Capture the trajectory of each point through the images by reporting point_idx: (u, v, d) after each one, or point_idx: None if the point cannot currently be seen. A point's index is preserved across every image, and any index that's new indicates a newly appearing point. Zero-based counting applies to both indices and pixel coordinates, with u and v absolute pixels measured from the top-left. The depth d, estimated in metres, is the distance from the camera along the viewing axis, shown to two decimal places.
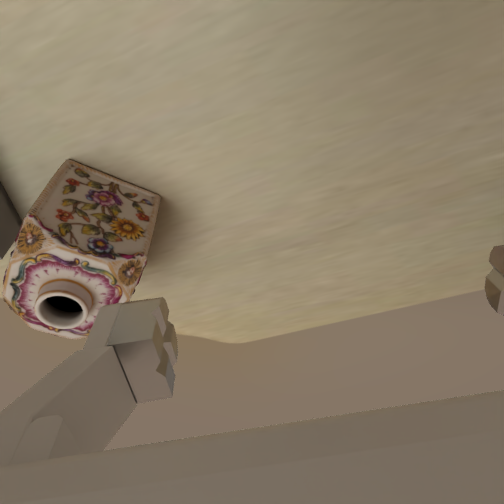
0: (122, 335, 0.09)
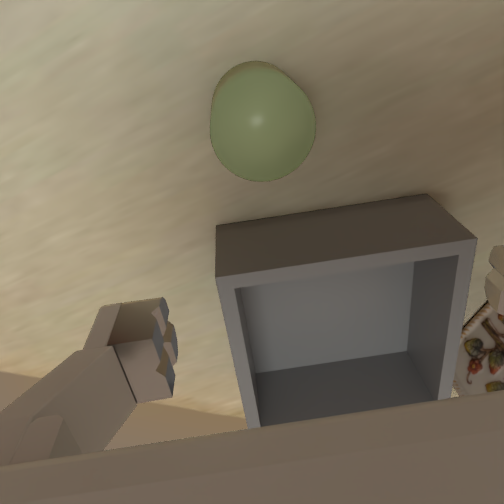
0: (122, 335, 0.09)
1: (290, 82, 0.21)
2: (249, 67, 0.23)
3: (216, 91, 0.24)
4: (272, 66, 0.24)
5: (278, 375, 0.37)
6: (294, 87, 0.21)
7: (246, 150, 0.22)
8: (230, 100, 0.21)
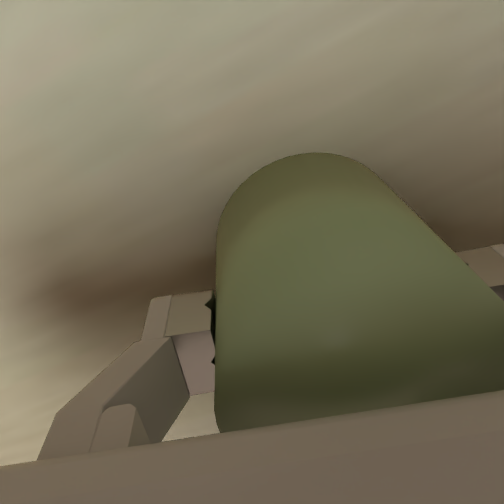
0: (178, 326, 0.09)
1: (476, 286, 0.06)
2: (316, 193, 0.09)
3: (228, 238, 0.10)
4: (361, 172, 0.10)
5: None
6: (486, 298, 0.06)
7: None
8: (278, 338, 0.07)
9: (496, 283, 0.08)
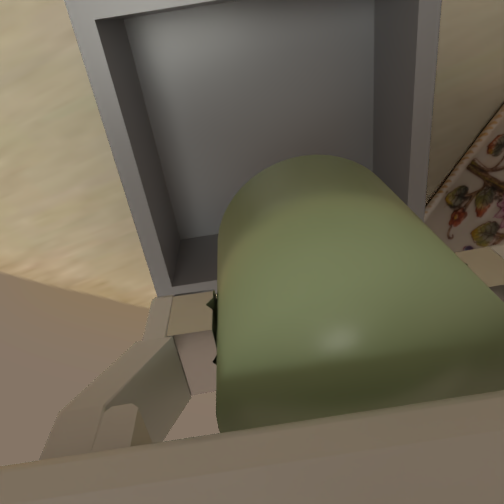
0: (180, 326, 0.09)
1: (479, 291, 0.06)
2: (318, 195, 0.09)
3: (230, 241, 0.10)
4: (363, 175, 0.10)
5: (208, 239, 0.29)
6: (490, 302, 0.06)
7: None
8: (281, 343, 0.07)
9: (495, 283, 0.08)
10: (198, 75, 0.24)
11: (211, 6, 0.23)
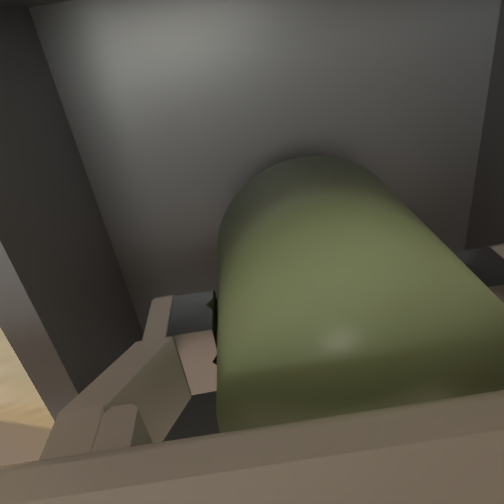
0: (180, 326, 0.09)
1: (480, 292, 0.06)
2: (318, 196, 0.09)
3: (230, 242, 0.10)
4: (363, 176, 0.10)
5: None
6: (491, 303, 0.06)
7: None
8: (281, 344, 0.07)
9: (495, 283, 0.08)
10: (175, 110, 0.14)
11: None
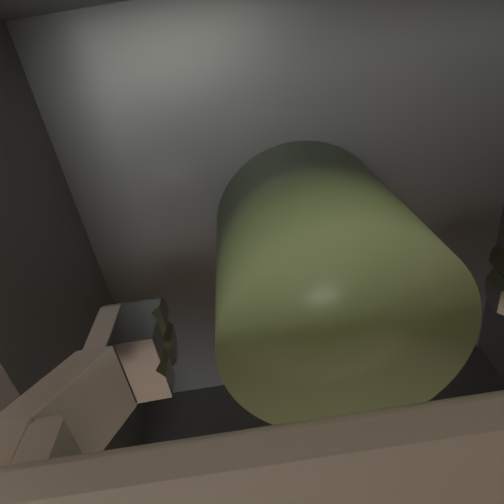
0: (122, 335, 0.09)
1: (433, 243, 0.08)
2: (304, 172, 0.10)
3: (227, 215, 0.11)
4: (346, 157, 0.12)
5: (196, 401, 0.17)
6: (443, 253, 0.08)
7: (304, 382, 0.09)
8: (268, 288, 0.08)
9: None
10: (172, 133, 0.12)
11: None
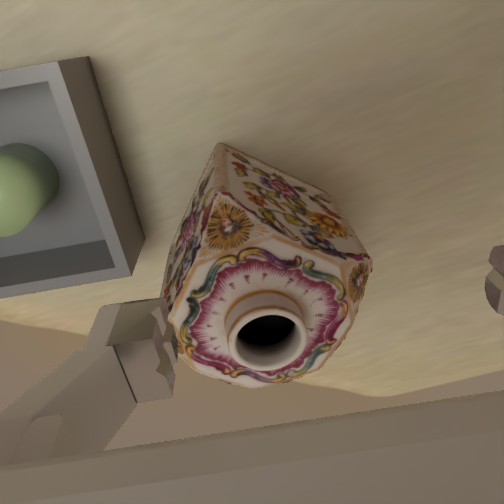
0: (122, 335, 0.09)
1: None
2: None
3: None
4: (21, 148, 0.33)
5: (0, 260, 0.38)
6: (3, 171, 0.29)
7: None
8: None
9: None
10: None
11: None
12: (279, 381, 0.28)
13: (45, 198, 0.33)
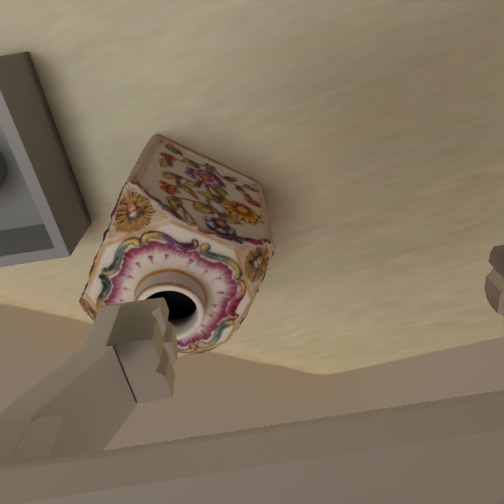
0: (122, 335, 0.09)
1: None
2: None
3: None
4: None
5: None
6: None
7: None
8: None
9: None
10: None
11: None
12: (191, 351, 0.31)
13: None
